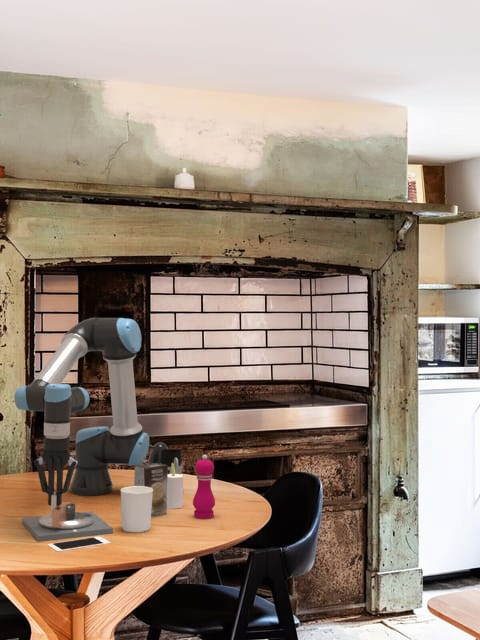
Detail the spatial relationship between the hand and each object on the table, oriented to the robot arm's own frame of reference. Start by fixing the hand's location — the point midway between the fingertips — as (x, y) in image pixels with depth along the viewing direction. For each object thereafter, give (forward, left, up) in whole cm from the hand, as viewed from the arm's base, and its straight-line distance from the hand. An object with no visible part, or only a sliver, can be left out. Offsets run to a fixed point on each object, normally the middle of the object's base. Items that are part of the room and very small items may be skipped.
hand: (54, 516), depth 241 cm
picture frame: (-52, -36, -5) cm, 63 cm away
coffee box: (-34, -10, -5) cm, 36 cm away
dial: (-4, -3, -3) cm, 6 cm away
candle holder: (-24, +5, -5) cm, 25 cm away
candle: (-45, -17, -5) cm, 48 cm away
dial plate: (-5, -4, -5) cm, 8 cm away
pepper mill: (-49, -1, -5) cm, 49 cm away
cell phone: (-4, +14, -6) cm, 15 cm away
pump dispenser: (-55, -57, -5) cm, 79 cm away
